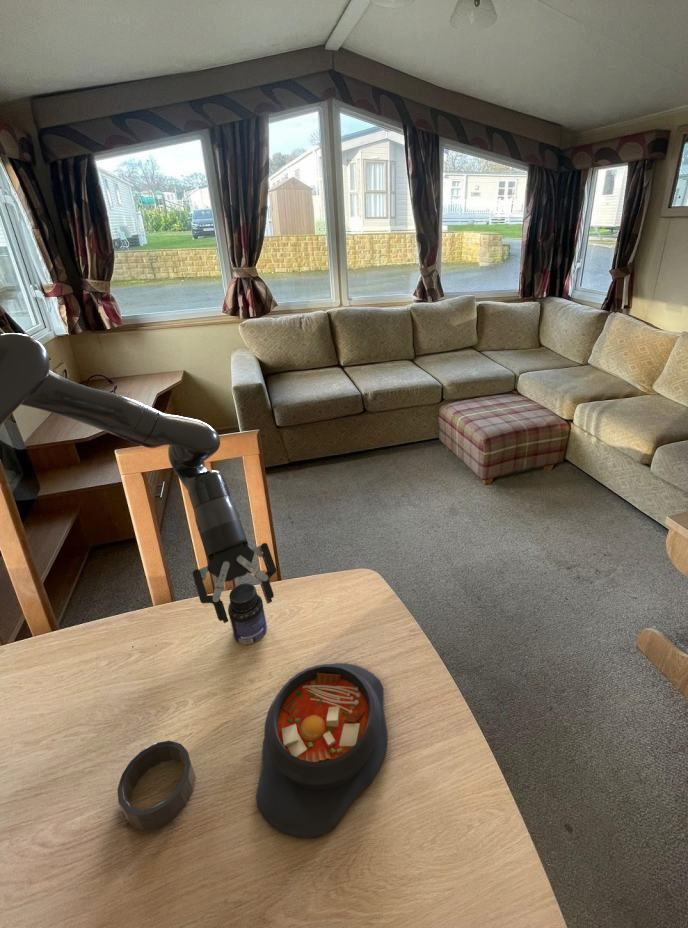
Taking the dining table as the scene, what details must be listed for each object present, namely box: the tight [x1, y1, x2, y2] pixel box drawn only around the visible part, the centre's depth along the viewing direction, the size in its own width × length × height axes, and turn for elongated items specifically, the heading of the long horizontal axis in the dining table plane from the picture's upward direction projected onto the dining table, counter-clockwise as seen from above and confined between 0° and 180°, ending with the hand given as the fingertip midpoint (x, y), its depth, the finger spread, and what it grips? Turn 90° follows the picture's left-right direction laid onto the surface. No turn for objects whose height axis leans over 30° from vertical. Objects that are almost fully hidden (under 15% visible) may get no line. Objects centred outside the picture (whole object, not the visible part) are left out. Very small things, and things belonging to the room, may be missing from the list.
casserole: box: [255, 662, 389, 839], centre depth 71 cm, size 25×19×8 cm
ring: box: [117, 740, 196, 831], centre depth 66 cm, size 9×9×5 cm
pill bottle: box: [227, 582, 268, 646], centre depth 89 cm, size 6×6×11 cm
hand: (248, 612), depth 87 cm, fingers open, 7 cm apart
